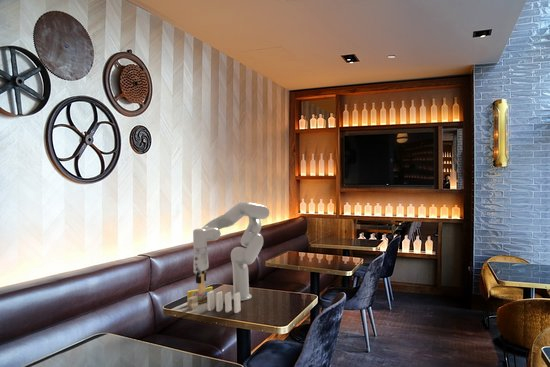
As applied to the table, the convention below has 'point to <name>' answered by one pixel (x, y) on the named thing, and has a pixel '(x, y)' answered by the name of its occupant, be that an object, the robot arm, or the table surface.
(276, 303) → the table surface
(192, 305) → the end block
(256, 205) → the robot arm
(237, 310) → the domino
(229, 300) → the domino
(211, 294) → the domino
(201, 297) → the candy box
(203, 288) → the domino
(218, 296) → the domino
